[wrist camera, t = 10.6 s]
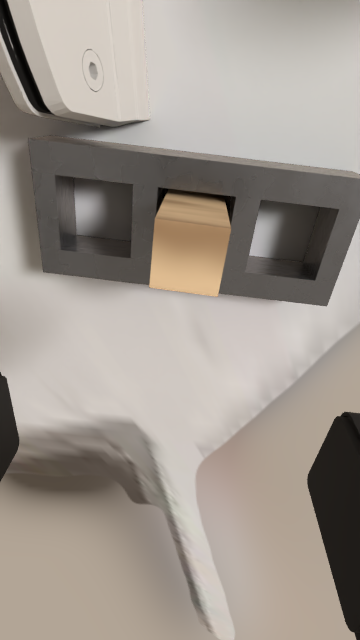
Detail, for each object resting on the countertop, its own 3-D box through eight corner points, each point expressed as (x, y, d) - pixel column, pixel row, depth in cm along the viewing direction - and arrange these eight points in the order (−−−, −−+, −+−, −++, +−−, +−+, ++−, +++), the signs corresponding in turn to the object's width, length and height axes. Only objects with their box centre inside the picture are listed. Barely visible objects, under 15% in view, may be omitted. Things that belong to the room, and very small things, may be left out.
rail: (314, 285, 32) (326, 306, 29) (60, 255, 32) (43, 272, 29) (352, 171, 27) (373, 180, 24) (50, 135, 27) (28, 138, 24)
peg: (214, 245, 31) (217, 296, 22) (164, 239, 31) (149, 287, 22) (223, 193, 29) (231, 228, 20) (169, 186, 29) (154, 218, 20)
